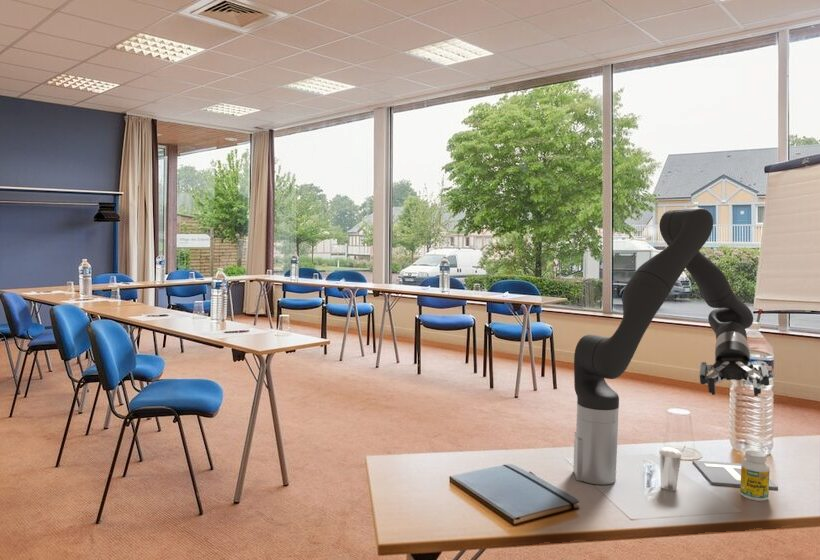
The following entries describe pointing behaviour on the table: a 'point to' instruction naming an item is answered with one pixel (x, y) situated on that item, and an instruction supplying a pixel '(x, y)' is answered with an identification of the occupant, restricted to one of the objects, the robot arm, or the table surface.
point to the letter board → (723, 473)
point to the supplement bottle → (755, 476)
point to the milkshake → (669, 467)
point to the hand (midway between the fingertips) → (734, 392)
